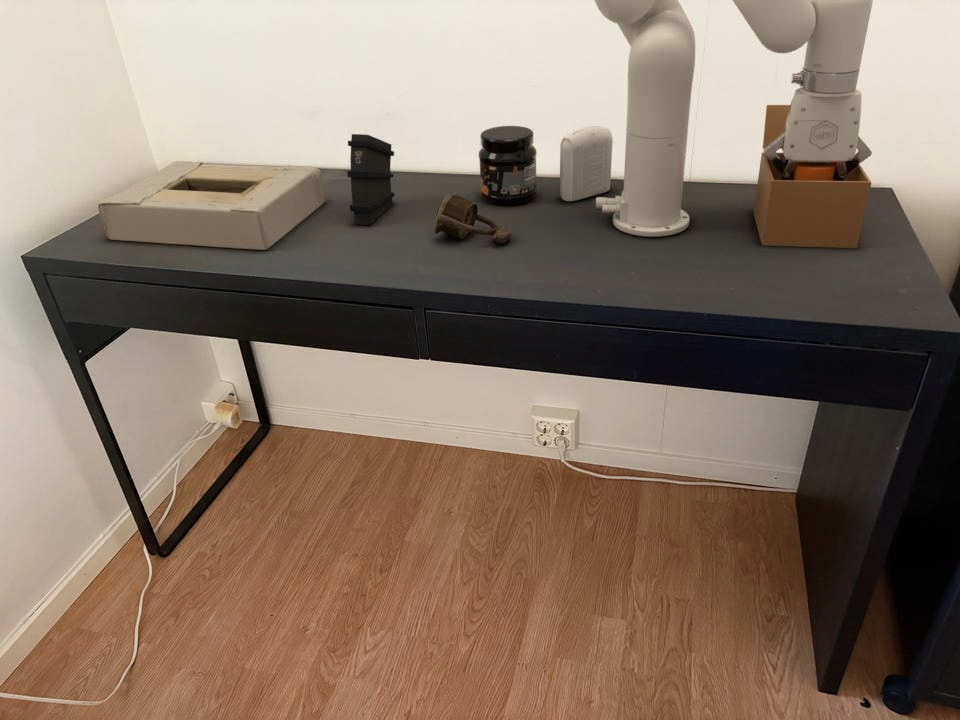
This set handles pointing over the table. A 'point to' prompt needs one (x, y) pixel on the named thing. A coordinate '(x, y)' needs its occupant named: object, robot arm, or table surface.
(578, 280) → the table surface
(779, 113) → the flap
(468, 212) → the brown knobbed piece
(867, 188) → the carton
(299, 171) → the box
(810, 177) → the orange cylinder
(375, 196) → the black banded case
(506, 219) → the table surface
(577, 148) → the white rounded upright block
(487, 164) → the supplement container
